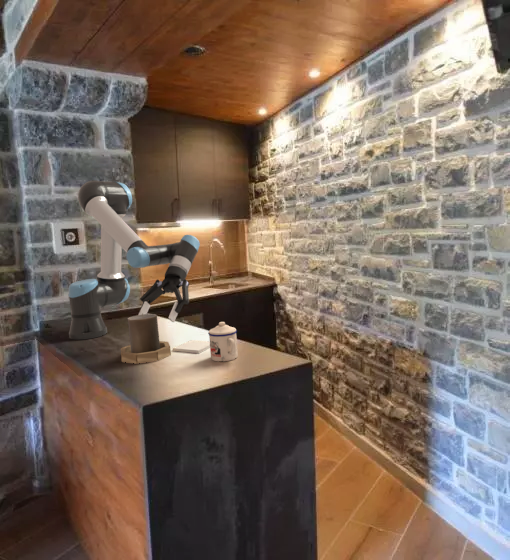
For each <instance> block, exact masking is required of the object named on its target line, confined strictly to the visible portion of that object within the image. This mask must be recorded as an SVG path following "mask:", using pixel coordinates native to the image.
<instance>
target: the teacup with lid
mask: <svg viewBox="0 0 510 560" xmlns="http://www.w3.org/2000/svg"><path fill="white" fill-rule="evenodd" d="M237 332H238V330H237V329H236V327H234V326H233V327H232V326H229V325H228V324H226V322H225V321H220V322H219V323H218V325H216V326H215V327H213V328H210V329H209V331H208V335H209V341H210V348H209V350H210V359H211V360H212V361H215V362H219V361H223V362H229V361H233V360H236V359H237V358H238V357H239V354H238V340H237V339H238V338H237ZM235 358H236V359H235Z"/></svg>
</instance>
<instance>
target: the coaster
mask: <svg viewBox="0 0 510 560" xmlns="http://www.w3.org/2000/svg"><path fill="white" fill-rule="evenodd" d="M208 349H209V350H210V340H209V341H207V340H196V339H194V340H193V339H190V340H188V341H186V342H184V343H181V344H179V345H177V346H176V345H175V347H172V351H173V352H179V353H181V352H182V353H191V354H200V353H202V352H205V351H207V350H208Z"/></svg>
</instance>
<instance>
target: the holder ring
mask: <svg viewBox="0 0 510 560" xmlns="http://www.w3.org/2000/svg"><path fill="white" fill-rule="evenodd" d="M159 341H160V349H158V350H156V351H151V352H144V353H131V346H130V344H129V345H126V346H123V347H120V359H121V362H122V363H125V362H126V363H125V364H133V363H134V365H135V364H136V365H138V364H139V363H140V364H146V362H147V363H153V362H158V361H161V360H164V359H165V358H168V357H170V356H171V355H172V353H171V345H170V342H169V341H163V340H162V341H161V340H159ZM157 360H158V361H157Z"/></svg>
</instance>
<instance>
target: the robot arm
mask: <svg viewBox="0 0 510 560" xmlns="http://www.w3.org/2000/svg"><path fill="white" fill-rule="evenodd" d="M132 195H133V194H132V192H131V189H130V188H129V187H128V186H127V185H126V184H125V183H124V182H120V181H119V182H118V181H109V180H108V181H107V180H105V181H104V180H89V181H86V182H85V183H83V184H82V185H81V187H80V188H79V190H78V194H77V199H78V202H79V206H80V207H81V209H82V210H83V211H84V212H85V214H86V215H87V216H89V217H93V219H94V220H95V221H97V223H98V224H99V225H100V226H101V227H100V243H101V244H100V272H99V273H98V274H96V275H97V276H96V278H86V279H82V280H78V281H75V282H72V283H70V284H69V285H68V300H69V305H70V306H69V307H70V316H71V321H70V327H69V331H68V336H69V337H68V338H69V339H70V340H75V341H76V340H87V339H93V338H94V339H95V338H99V337H102V335H103V336H105V335H107V334H108V327H107V325H106V324H105V322H104V319H103V317H102V312H101V309H102V308H105V307H109V306H115V305H119V304H122V303H124V302H126V301H127V300H128V298H129V296H130V292H131V286H130V283H129V281H128V279H127V278H126V276H125V274H124V273H123V272H122V252H123V251H122V249H123V250H124V252H125V253H126V261H127V263H128V265H129V266H130V267H132V268H133V269H139V268H141V269H142V268H148V267H151V266H161V265H168V267H167V269H166V270H165V273H164V279H163V280H162V281H161V280H159V279H156V280H155V282H154V283H153V284H152V286H150V288H149V289H148V290H147V291H146V292H145V293H144V294H143V295H142V296H141V297H140V298H139V300H140V301H141V302H142V304H141V306H140V310H139V312H138V315H142V313H143V314H148V312H149V309H150V308H151V303H153V302H154V301H155V300H157V299H158V298H160V297H161V296H162V295H165V294H168V293H170V294H173V293H174V295H175V298H176V301H175V302H174V304H173V306H172V309H171V310H170V313H169V316H168V319H169V321H170V322H171V323H175V320H176V318H177V317H178V314H179V313H180V312H181V311H182V309H183V306H184V305H189V304H190V298H189V296H190V295H189V287H190V283H189V282H188V280H187V275H188V273H189V271H190V269H191V267H192V265H193V262H194V261H195V258H196V256H197V254H198V252H199V248H200V246H201V245H200V241H199V239H198V238H197V237H196V236H194V235H191V234H184V235H183V236H182V237H181V239H180V241H179V242H174V243H173V242H172V243H167V244H159V245H158V244H157V245H148V244H147V243H145V241H144V240H143V239H142V238H141V237H139V235H138V234H137V233H136V231H134V230H133V229H132V228H131V227H130V226H129V225H128V224H127V223H126V222H125V221H124V219H123V218H124V217H125V216H126V215H127V210H128V209H130V207H131V206H132V203H133V196H132ZM180 288H181V291H180ZM181 294H182V295H181ZM106 333H107V334H106Z"/></svg>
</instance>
